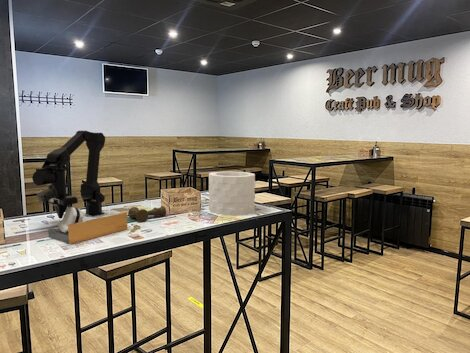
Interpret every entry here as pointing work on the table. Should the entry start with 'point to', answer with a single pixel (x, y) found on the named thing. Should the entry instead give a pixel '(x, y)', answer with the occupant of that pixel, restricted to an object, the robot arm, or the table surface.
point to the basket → (231, 193)
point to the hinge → (70, 218)
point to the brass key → (135, 228)
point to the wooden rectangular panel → (91, 228)
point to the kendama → (145, 213)
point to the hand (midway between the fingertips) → (60, 218)
